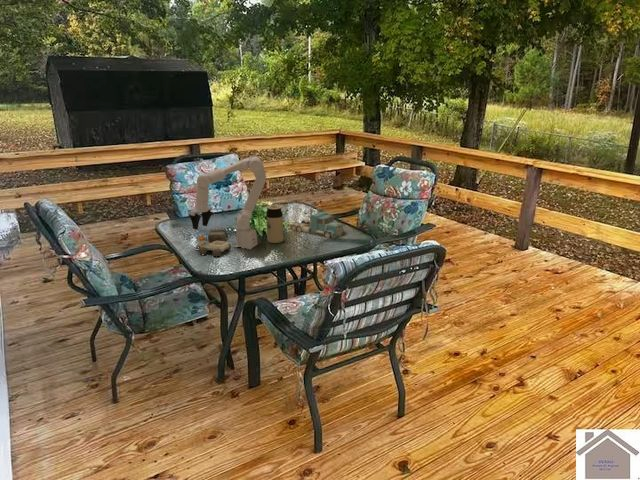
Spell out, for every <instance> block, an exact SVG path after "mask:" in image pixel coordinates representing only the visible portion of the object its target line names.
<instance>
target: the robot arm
mask: <svg viewBox="0 0 640 480" xmlns="http://www.w3.org/2000/svg"><path fill="white" fill-rule="evenodd" d="M241 170H245V171H248V170H250V171H251V173H253V175H254V178H255V180H254V182H253V185H252V186H251V189H250V191H249V193H248V196H247V198H246V201H245V203H244V206H243V208H242V209H241V211H240V213H238V214H237V215H236V227H235V234H236V244H235V245H233V248H237V247H241V248H240V249H245V248H246V250H252V249H253V248H254V247H257V246H258V245H259V243H258V236H257V235H258V234H257V230H256V229H253V228H252V226H251V224H250V223H251V218H252V214H253V211H254V210H255V207H256V204H257V203H258V201H259V198H260V195H261V193H262V191H263V188H264V186H265V183H266V182H267V176H266V171H265V165H264V163H263V161H262V159H261V158H260V157H259V156H257V155H252V156H250V157H246V158H244V159H241V160H239V161H237V162H235V163H233V164H231V165H228V166H226V167H224V168H223V167H217V166H215V167H214V168H213V169H211V170H209V171H205V172H204V173H200V174H199V175H198V177H197V179H196V184H197V185H196V191H195V192H196V194H195V206H194V207H193V206H192V207H193V208H192V209H191V210H190V211H189V214H188V217H189V218H190V220H191V223H192V228H193V230H198V229H199V224H200V220H202V226H205V227H208V225H209V221H210V219H211V216H213V214H214V212H213V211H212V210H213V206H211V205H209V196H210V189H209V187H210V185H212V184H215V183H217V182H219V181H223V180H224V179H226V176H227V175H230V174H233V173H235V172H238V171H241ZM199 214H201V215H199ZM201 218H202V219H201Z"/></svg>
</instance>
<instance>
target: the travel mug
mask: <svg viewBox="0 0 640 480" xmlns="http://www.w3.org/2000/svg"><path fill="white" fill-rule="evenodd" d="M266 209H267V210H266V215H265V216H266V233H267V237H266V238H267V242H268V243H271V244H279V243H281V242H284V221H283V217H284V216H283V211H282V205H281V204H280V205H279V204H270V205H266Z"/></svg>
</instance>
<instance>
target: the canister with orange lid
mask: <svg viewBox="0 0 640 480" xmlns="http://www.w3.org/2000/svg"><path fill="white" fill-rule="evenodd" d="M197 239H198V246H199V248H200V246H202V245H204V244H206V243H207V242H206V237H205V236H198V237H197Z"/></svg>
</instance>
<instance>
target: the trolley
mask: <svg viewBox="0 0 640 480" xmlns="http://www.w3.org/2000/svg"><path fill="white" fill-rule="evenodd" d="M205 243H206V244H204V245H202V246H200V248H198V247H199V245H197V246H195V247H194V250H195V249H199V250H198V254H199V253H200V254H205V255H207V253H208V251H212V253H211V254H212V256H213V257H214V256H219V257H220V256H221V255H222V252H228V251H231V249H232V246H231V244H230V243H229V242H228V241H226V242H224V241H213V242H211V243H209V241H207V242H205ZM224 250H226V251H224ZM200 254H199V255H200Z"/></svg>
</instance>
